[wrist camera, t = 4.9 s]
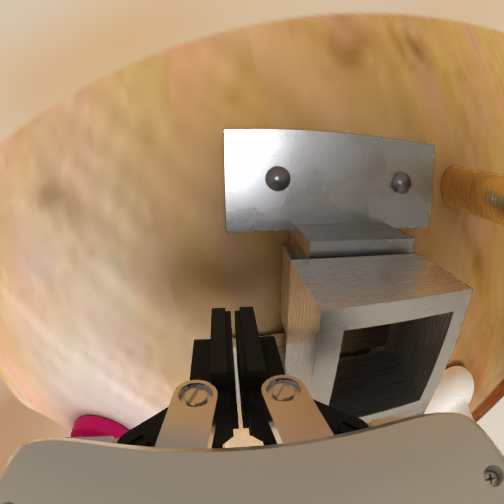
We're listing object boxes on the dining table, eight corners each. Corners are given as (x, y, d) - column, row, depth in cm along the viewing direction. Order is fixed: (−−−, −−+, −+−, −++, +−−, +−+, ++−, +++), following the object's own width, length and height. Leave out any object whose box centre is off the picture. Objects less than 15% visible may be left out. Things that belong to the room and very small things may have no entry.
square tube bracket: (415, 229, 17) (511, 281, 9) (383, 373, 20) (431, 448, 13) (217, 234, 16) (215, 317, 8) (228, 394, 19) (235, 494, 12)
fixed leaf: (424, 145, 15) (468, 148, 11) (403, 312, 19) (433, 343, 15) (223, 131, 14) (224, 123, 10) (230, 330, 18) (234, 374, 14)
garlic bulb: (443, 352, 22) (489, 406, 14) (471, 367, 23) (511, 413, 15) (401, 402, 23) (433, 461, 16) (434, 411, 24) (464, 460, 17)
